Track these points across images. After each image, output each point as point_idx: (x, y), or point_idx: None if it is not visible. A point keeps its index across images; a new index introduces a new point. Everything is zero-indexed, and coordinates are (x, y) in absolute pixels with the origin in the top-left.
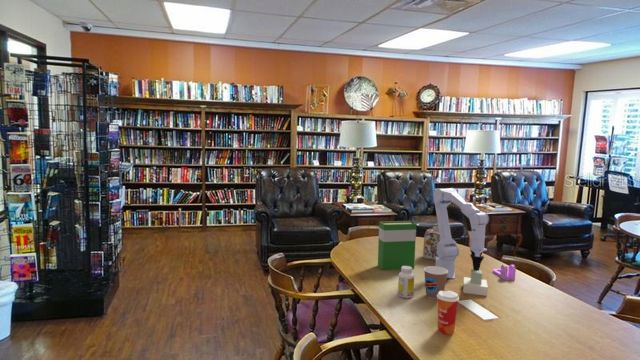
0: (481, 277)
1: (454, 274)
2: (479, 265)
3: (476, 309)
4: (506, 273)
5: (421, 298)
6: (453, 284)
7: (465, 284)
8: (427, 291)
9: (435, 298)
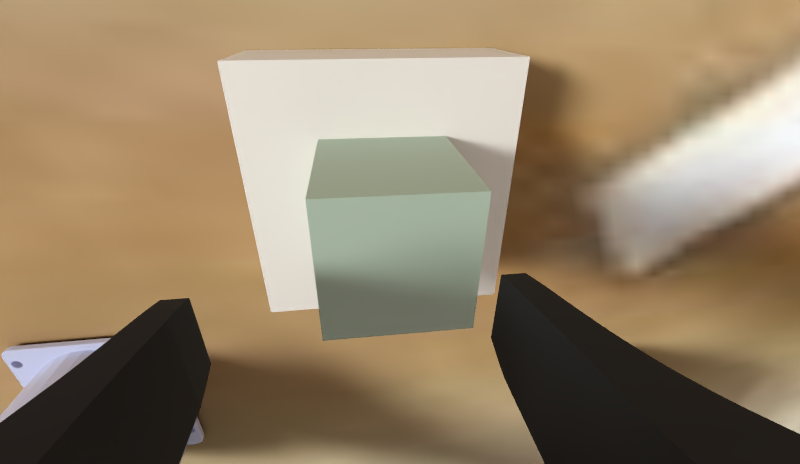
0: (469, 170)
1: (51, 350)
2: (612, 344)
3: (784, 146)
4: None
5: None
6: (305, 323)
7: (495, 281)
8: None
9: None
